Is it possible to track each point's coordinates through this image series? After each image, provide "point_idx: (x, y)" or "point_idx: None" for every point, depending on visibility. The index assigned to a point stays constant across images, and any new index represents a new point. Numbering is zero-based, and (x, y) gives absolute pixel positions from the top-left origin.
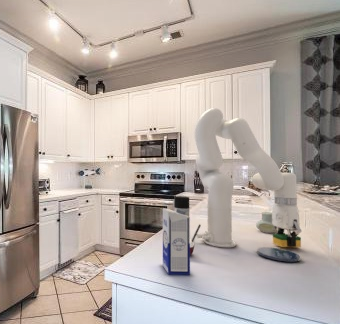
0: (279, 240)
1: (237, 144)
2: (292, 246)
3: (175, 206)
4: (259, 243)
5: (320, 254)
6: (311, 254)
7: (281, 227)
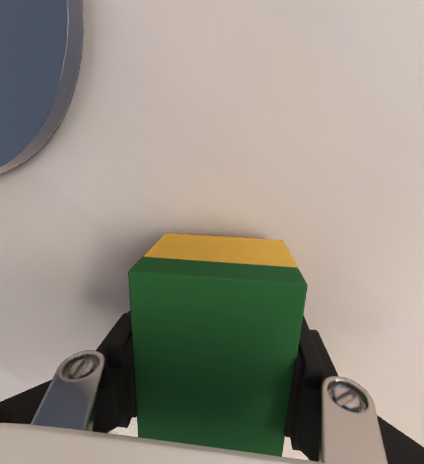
0: (178, 254)
1: None
2: None
3: None
4: (355, 135)
5: None
6: (64, 340)
7: (111, 448)
